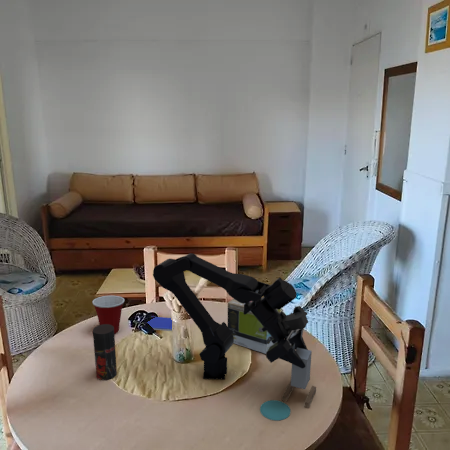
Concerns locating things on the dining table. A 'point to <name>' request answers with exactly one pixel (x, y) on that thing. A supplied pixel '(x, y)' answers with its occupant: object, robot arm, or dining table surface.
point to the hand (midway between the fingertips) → (306, 362)
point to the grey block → (298, 374)
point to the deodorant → (104, 352)
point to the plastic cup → (109, 310)
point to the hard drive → (161, 323)
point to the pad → (275, 410)
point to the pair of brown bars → (308, 399)
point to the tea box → (247, 328)
